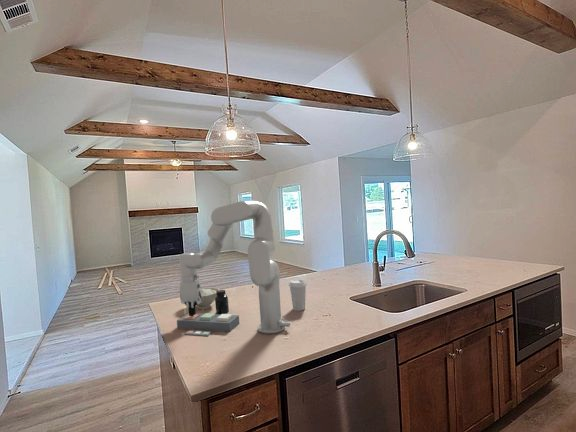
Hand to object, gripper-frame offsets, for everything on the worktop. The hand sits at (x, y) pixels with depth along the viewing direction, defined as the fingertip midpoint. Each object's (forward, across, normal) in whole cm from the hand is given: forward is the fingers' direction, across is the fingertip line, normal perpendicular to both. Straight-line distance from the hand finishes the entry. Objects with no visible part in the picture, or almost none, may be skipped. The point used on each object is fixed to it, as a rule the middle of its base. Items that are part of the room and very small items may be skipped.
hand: (192, 315), depth 157 cm
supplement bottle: (+5, -6, -18) cm, 20 cm away
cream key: (+3, -17, 0) cm, 18 cm away
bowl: (+5, +10, -26) cm, 28 cm away
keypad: (+5, -8, 0) cm, 10 cm away
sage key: (+3, -8, 0) cm, 9 cm away
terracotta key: (+4, +1, 0) cm, 4 cm away
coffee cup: (+6, -46, -29) cm, 55 cm away
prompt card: (+5, -8, +9) cm, 13 cm away
